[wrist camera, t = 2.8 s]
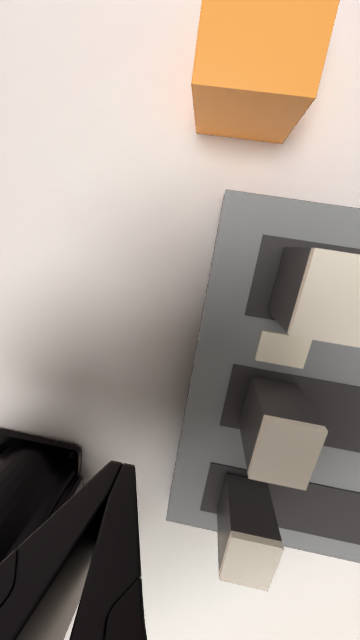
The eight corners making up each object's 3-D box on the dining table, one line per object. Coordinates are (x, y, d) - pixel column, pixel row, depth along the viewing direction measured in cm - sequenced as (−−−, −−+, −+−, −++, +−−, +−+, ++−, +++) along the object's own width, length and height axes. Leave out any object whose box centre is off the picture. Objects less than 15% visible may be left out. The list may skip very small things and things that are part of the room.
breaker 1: (267, 311, 12) (289, 335, 9) (284, 247, 12) (315, 247, 8) (318, 320, 12) (360, 347, 9) (339, 255, 11) (393, 259, 8)
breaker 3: (216, 510, 16) (219, 579, 13) (226, 473, 15) (231, 537, 12) (255, 519, 16) (267, 591, 13) (267, 481, 15) (283, 549, 12)
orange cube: (196, 134, 12) (191, 83, 8) (211, 26, 11) (213, -88, 7) (281, 144, 12) (315, 98, 8) (305, 35, 11) (358, -78, 7)
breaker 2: (238, 424, 14) (248, 478, 11) (251, 375, 13) (265, 419, 10) (282, 432, 14) (306, 490, 11) (298, 384, 13) (328, 431, 10)
